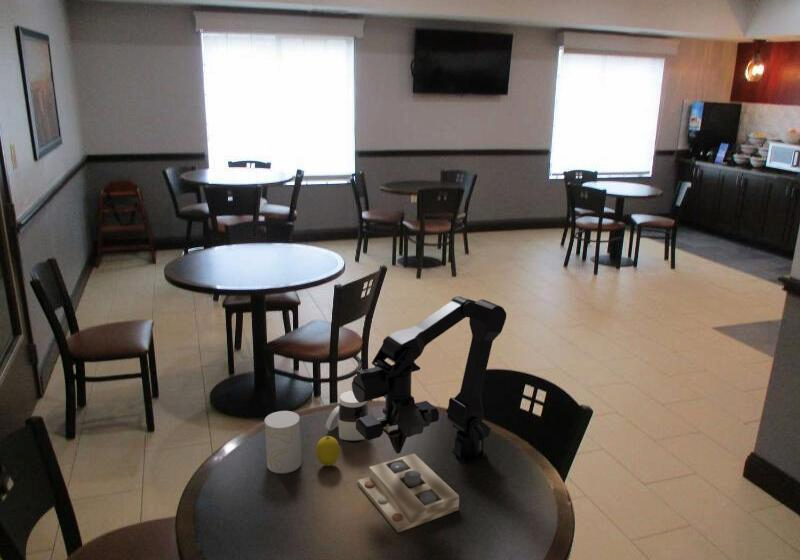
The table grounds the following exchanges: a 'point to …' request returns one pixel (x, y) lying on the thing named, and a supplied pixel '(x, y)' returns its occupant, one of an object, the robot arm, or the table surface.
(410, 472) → the button middle
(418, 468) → the button board
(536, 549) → the table surface
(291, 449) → the white cylinder
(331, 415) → the spread jar
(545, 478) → the table surface
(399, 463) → the button
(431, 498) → the button
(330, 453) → the lemon
